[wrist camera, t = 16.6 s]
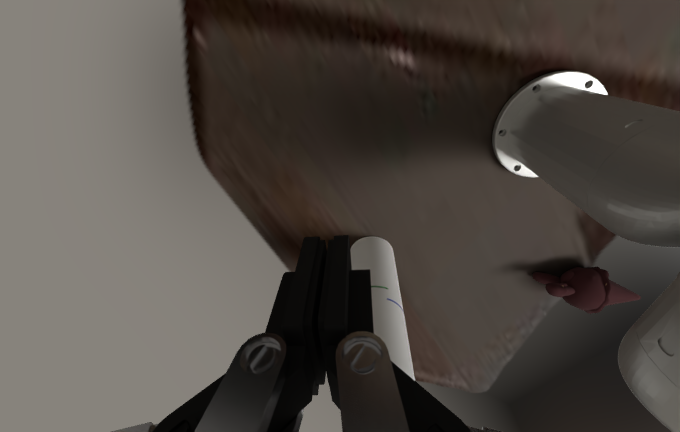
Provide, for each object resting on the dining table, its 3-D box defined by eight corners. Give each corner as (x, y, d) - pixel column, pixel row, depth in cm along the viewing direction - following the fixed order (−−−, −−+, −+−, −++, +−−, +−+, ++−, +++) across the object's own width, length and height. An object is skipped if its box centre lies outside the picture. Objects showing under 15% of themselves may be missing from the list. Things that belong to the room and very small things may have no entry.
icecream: (673, 288, 40) (561, 270, 41) (649, 332, 42) (543, 314, 43) (631, 266, 47) (535, 250, 48) (612, 305, 49) (521, 290, 50)
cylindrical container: (375, 276, 50) (389, 452, 29) (341, 257, 49) (328, 430, 27) (402, 250, 47) (439, 425, 26) (366, 228, 45) (375, 398, 24)
